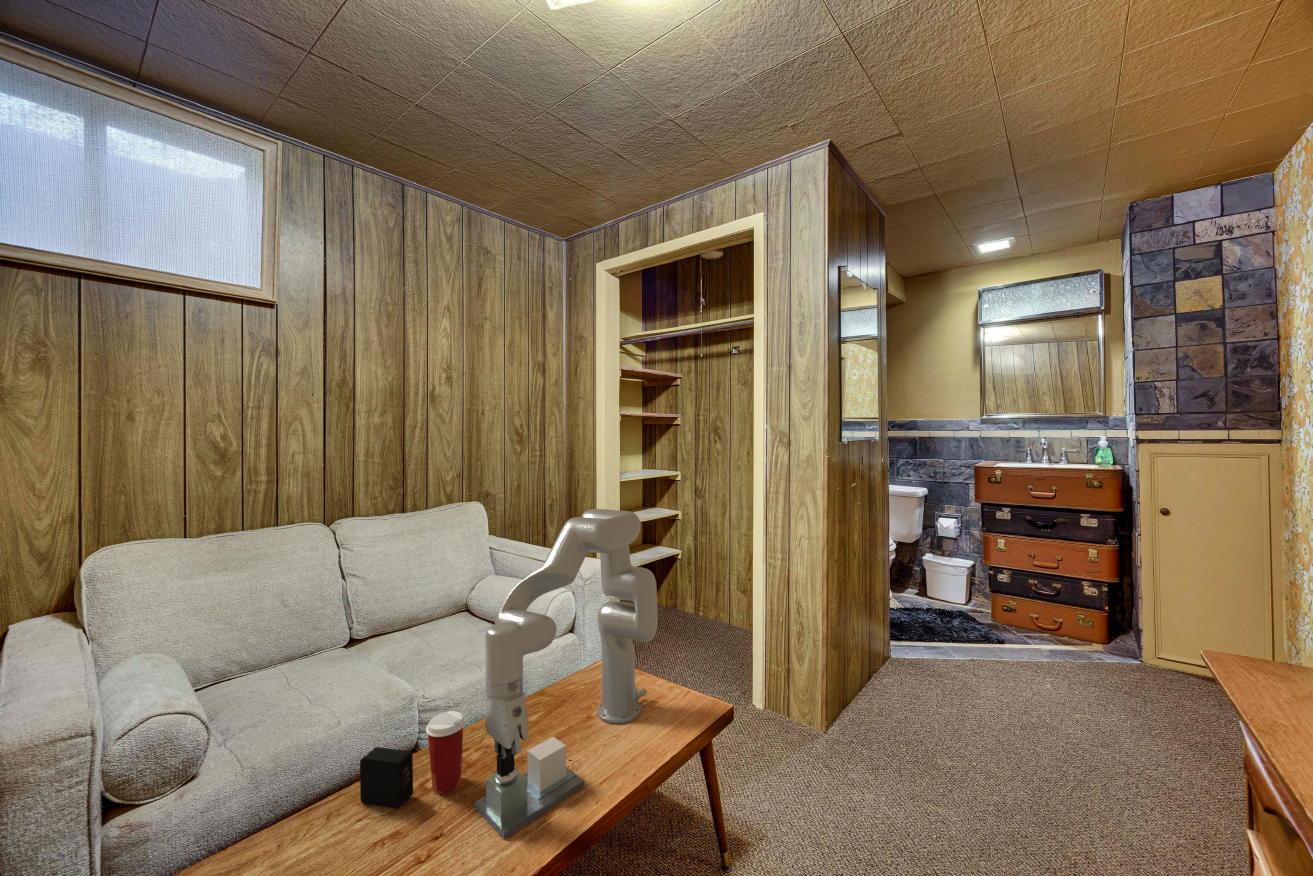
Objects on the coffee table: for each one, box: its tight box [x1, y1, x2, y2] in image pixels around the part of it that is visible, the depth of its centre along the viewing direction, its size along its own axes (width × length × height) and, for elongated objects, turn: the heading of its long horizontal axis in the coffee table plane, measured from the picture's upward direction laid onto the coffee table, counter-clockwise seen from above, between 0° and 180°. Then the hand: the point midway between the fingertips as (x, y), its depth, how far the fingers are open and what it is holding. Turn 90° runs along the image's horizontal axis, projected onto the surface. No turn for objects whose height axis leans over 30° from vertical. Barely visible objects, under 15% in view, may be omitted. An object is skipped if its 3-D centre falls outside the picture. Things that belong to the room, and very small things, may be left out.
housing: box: [526, 736, 567, 792], centre depth 114 cm, size 7×5×7 cm
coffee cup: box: [425, 710, 466, 795], centre depth 115 cm, size 8×8×15 cm
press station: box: [474, 766, 585, 840], centre depth 110 cm, size 20×12×8 cm, turn 136°
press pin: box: [494, 765, 518, 786], centre depth 105 cm, size 4×4×6 cm
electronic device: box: [359, 746, 414, 810], centre depth 110 cm, size 4×10×10 cm, turn 78°
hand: (505, 772), depth 105 cm, fingers closed
